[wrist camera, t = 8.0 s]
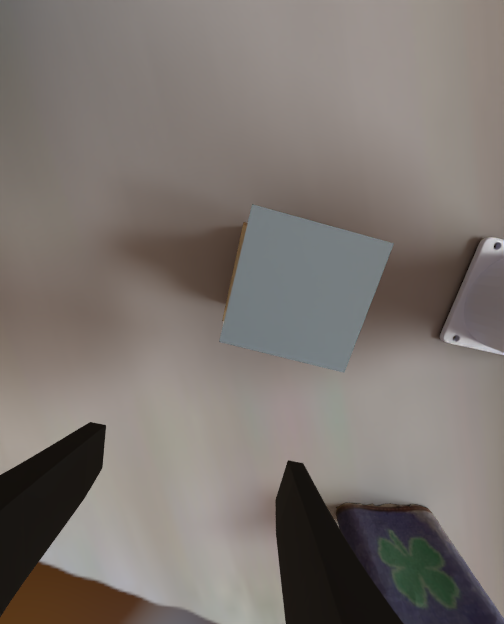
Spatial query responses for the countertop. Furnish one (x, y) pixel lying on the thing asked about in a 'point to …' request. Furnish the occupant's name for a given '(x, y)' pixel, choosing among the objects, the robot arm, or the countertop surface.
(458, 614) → the flask
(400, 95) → the countertop surface
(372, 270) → the slate block
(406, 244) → the countertop surface
